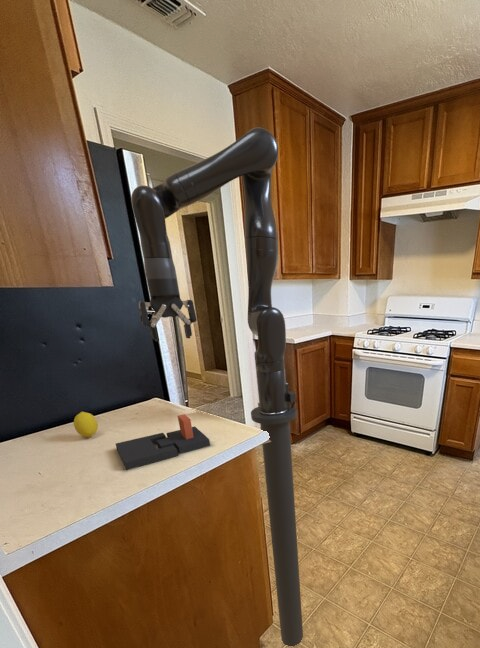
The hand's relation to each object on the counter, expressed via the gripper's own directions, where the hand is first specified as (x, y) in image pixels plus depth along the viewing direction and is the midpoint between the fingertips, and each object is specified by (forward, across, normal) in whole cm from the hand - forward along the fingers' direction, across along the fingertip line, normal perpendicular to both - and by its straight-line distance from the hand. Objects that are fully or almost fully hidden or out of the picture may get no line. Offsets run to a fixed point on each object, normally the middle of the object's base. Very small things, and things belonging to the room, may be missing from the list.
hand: (173, 339), depth 100 cm
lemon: (+26, -26, +8) cm, 38 cm away
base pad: (+26, -15, -14) cm, 33 cm away
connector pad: (+26, -6, -14) cm, 30 cm away
